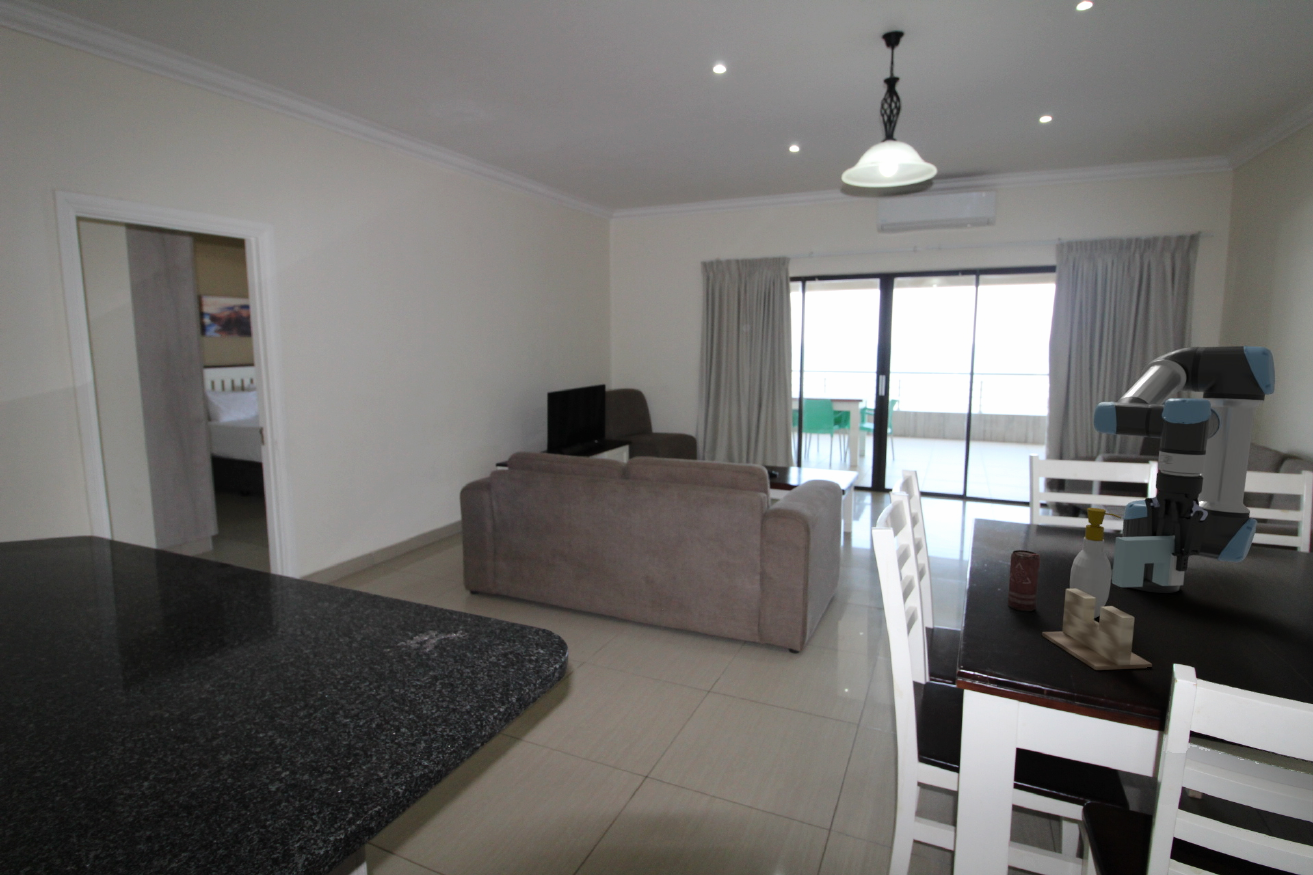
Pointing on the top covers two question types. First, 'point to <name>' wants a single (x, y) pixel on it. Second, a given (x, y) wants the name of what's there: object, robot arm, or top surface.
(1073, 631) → the birch jig
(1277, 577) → the top surface
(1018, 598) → the can
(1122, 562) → the pale blue tunnel block
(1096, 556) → the soap bottle
